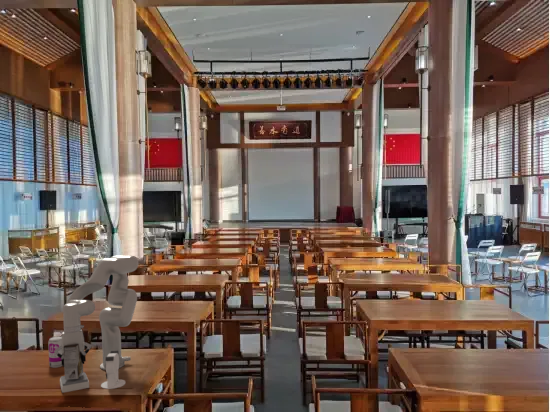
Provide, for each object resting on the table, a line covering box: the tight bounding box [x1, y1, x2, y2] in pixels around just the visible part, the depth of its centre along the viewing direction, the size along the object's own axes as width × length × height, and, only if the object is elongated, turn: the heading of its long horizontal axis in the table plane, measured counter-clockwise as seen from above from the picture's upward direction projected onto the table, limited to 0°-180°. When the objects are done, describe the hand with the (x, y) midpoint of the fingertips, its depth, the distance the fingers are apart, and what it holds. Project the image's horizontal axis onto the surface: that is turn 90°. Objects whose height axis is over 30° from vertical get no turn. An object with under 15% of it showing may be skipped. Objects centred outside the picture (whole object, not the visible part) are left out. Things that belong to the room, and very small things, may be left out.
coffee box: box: [63, 344, 84, 380], centre depth 243 cm, size 9×6×16 cm
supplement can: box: [47, 335, 63, 369], centre depth 275 cm, size 8×8×15 cm
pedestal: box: [59, 371, 90, 393], centre depth 244 cm, size 12×12×4 cm
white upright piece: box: [100, 351, 126, 390], centre depth 245 cm, size 12×11×15 cm
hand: (73, 364), depth 244 cm, fingers closed on coffee box, 8 cm apart
